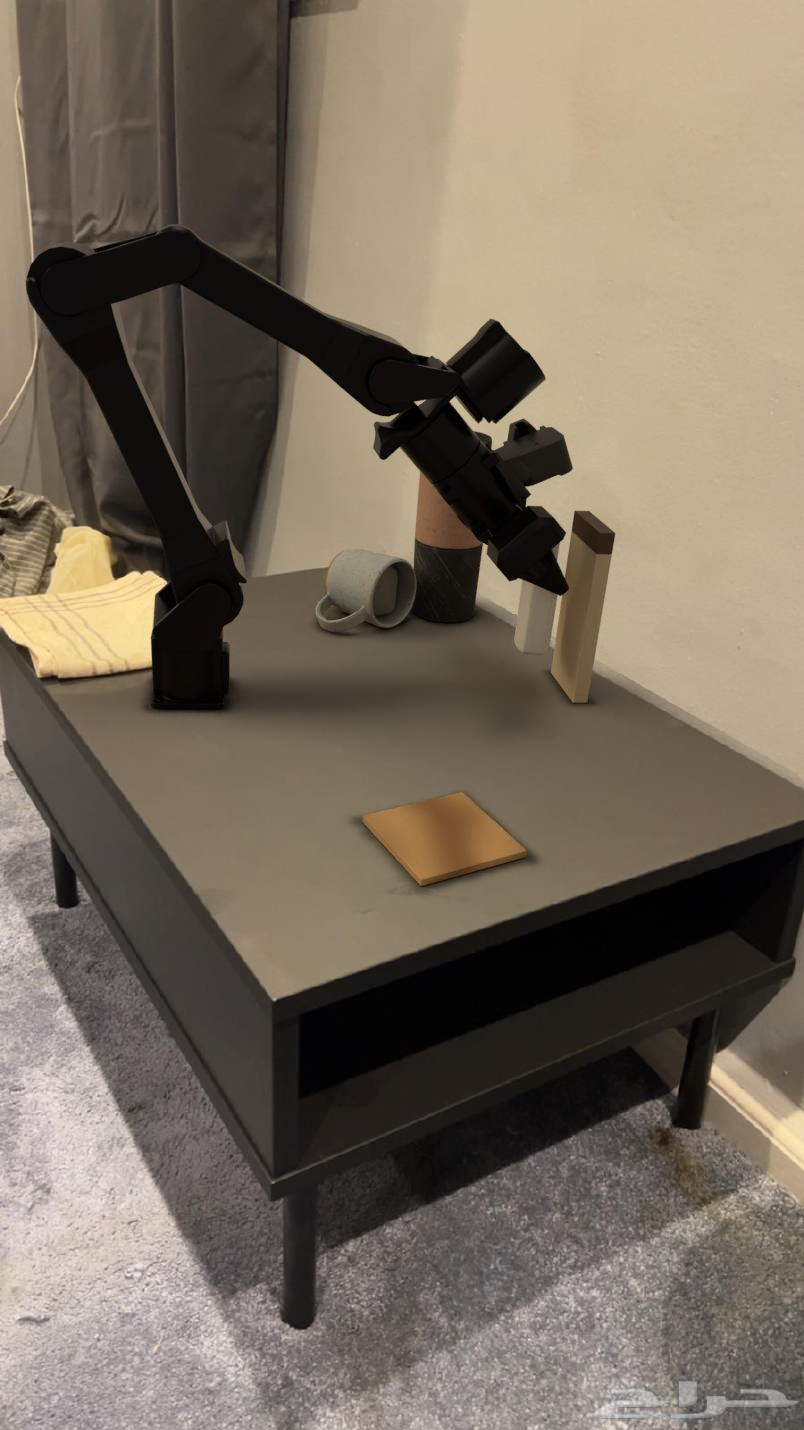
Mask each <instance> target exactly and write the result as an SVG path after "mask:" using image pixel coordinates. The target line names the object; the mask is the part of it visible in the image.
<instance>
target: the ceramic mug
mask: <svg viewBox="0 0 804 1430" xmlns="http://www.w3.org/2000/svg"><path fill="white" fill-rule="evenodd" d="M416 588H417V582H416V575H415V571H414V566H412V564H411V563H410V561H408V560H407V559H405V558H401V557H397V556H391V555H388V554H383V553H378V552H375V551H371V550H367V549H363V548H348V549H344V550H342V551H340V552H339V553H337V554H336V555H335V556H334V557H333V558H332V560H331V561H330V563H329V565H328V566H327V568H326V572H325V575H324V592H325V595H324V596H323V597H322V598H321V599H319V601H318V602H317V604H316V605H315V617H316V619H317V622H318V624H319V626H320V627H321V628H322V629H323V630H325V631H327V632H331V633H342V632H347V631H351V630H353V629H354V628H356V627H358V626H359V625H361V624H363V623H364V622H367V623H369V624H371V625H374V626H375V627H378V628H382V629H390V628H391V629H392V628H393V627H396V626H397V625H399V624H400V623H402V622H403V621H404V620H405V619H406V617H407V616H408V615H409V613H410V611H411V610H412V608H413V602H414V599H415V595H416ZM332 606H333V607H335V608H336V609H337V610H339V611H341V612H343V613H345V614H348V615H347V616H345V617H343V618H340V619H333V620H332V619H331V620H329V619H327V618H326V617H324V614H325V613H326V611H327V610H328V609H329V608H330V607H332Z"/></svg>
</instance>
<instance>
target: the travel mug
mask: <svg viewBox="0 0 804 1430" xmlns="http://www.w3.org/2000/svg"><path fill="white" fill-rule="evenodd" d="M473 431H474V432H475V434H476V435H477V436H478V438H479V439H480V440H481V441H482V442H484V441H485V442H486V443H487V444H488V445H489V446H490V448H491V449H492V447H493V438H492V436H491V435H489V434H486V433H484V432H480V431H476V430H473ZM492 450H493V449H492ZM418 477H419V479H418V491H417V502H416V503H417V504H416V515H415V516H416V517H415V527H414V528H415V530H414V546H413V547H414V549H413V551H414V552H413V569H414V571H415V575H416V582H417V588H416V595H415V599H414V602H413V605H412V611H413V614H415V615H416V616H418V617H419V618H422V619H424V620H427V621H430V622H431V621H432V622H437V623H460V622H464V621H467V620H470V619H472V617H473V616H474V614H475V608H476V607H475V606H476V601H477V594H478V593H477V592H478V584H479V579H480V578H479V577H480V571H481V561H482V554H483V547H484V543H482V542H480V541H479V540H477V538H476V537H475V536H474V535H473V533H472V532H471V530H470V529H469V528H466V526H465V525H464V524H463V523H462V522H461V521H460V520H459V518H458V517H457V516H456V515H455V513H454V512H453V511H452V510H451V508H450V506H449V505H448V504H447V503H446V501H445V500H444V499H443V498H442V497H441V495H440V494H439V493H438V492H437V490H436V489H435V488H434V487H433V486H432V484H431V483H430V482H429V481H428V480H427V479H426V478H425V476H424V475H423V474H422V473H421V472H420V471H419V476H418Z"/></svg>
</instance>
